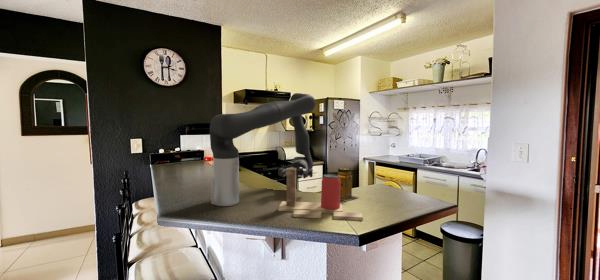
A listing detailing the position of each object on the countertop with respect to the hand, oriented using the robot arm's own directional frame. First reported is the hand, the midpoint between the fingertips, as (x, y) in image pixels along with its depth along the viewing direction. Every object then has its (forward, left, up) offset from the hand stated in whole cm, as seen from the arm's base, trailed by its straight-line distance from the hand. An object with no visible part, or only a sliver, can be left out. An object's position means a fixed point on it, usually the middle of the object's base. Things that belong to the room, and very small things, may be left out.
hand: (293, 175), depth 103 cm
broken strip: (+14, -17, -10) cm, 24 cm away
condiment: (+21, +6, -10) cm, 24 cm away
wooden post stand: (+8, -10, -10) cm, 16 cm away
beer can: (+15, -10, -10) cm, 20 cm away
